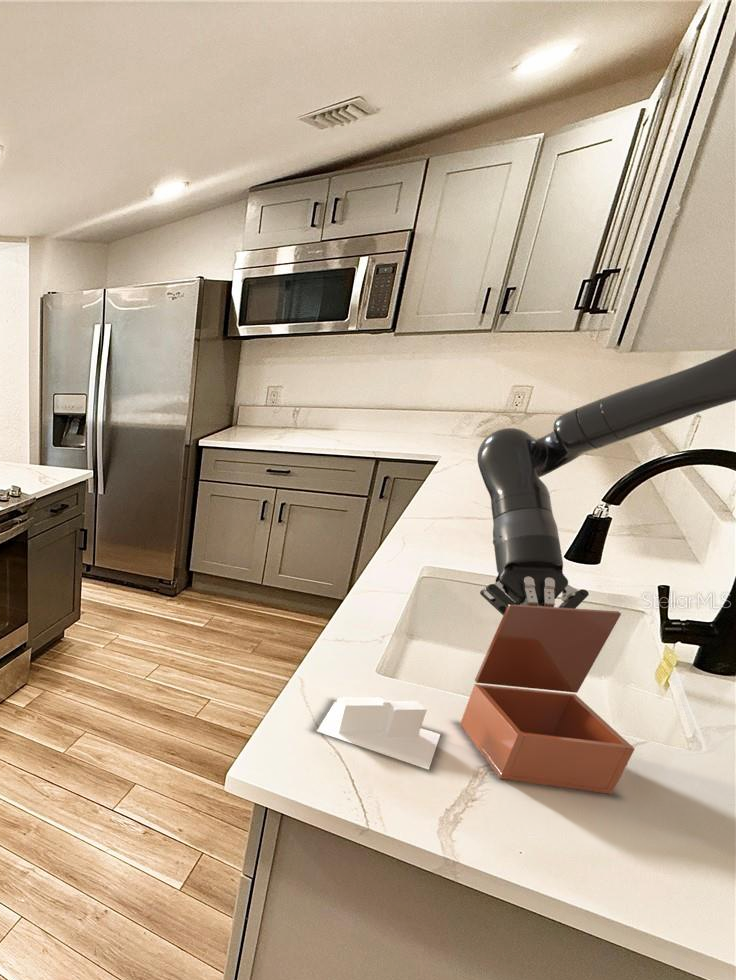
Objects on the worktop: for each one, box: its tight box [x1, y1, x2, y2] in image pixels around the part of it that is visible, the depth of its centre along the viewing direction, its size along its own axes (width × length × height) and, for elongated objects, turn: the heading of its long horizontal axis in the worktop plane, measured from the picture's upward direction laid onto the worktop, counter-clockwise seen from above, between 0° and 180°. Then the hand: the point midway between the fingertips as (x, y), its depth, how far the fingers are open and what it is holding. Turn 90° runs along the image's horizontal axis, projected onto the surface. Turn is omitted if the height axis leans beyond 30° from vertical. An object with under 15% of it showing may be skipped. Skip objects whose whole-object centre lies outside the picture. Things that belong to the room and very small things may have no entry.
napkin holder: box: [316, 696, 441, 771], centre depth 98 cm, size 15×11×6 cm
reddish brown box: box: [459, 683, 635, 795], centre depth 91 cm, size 14×13×8 cm
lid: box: [474, 604, 622, 694], centre depth 91 cm, size 14×13×1 cm
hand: (540, 646), depth 92 cm, fingers closed
